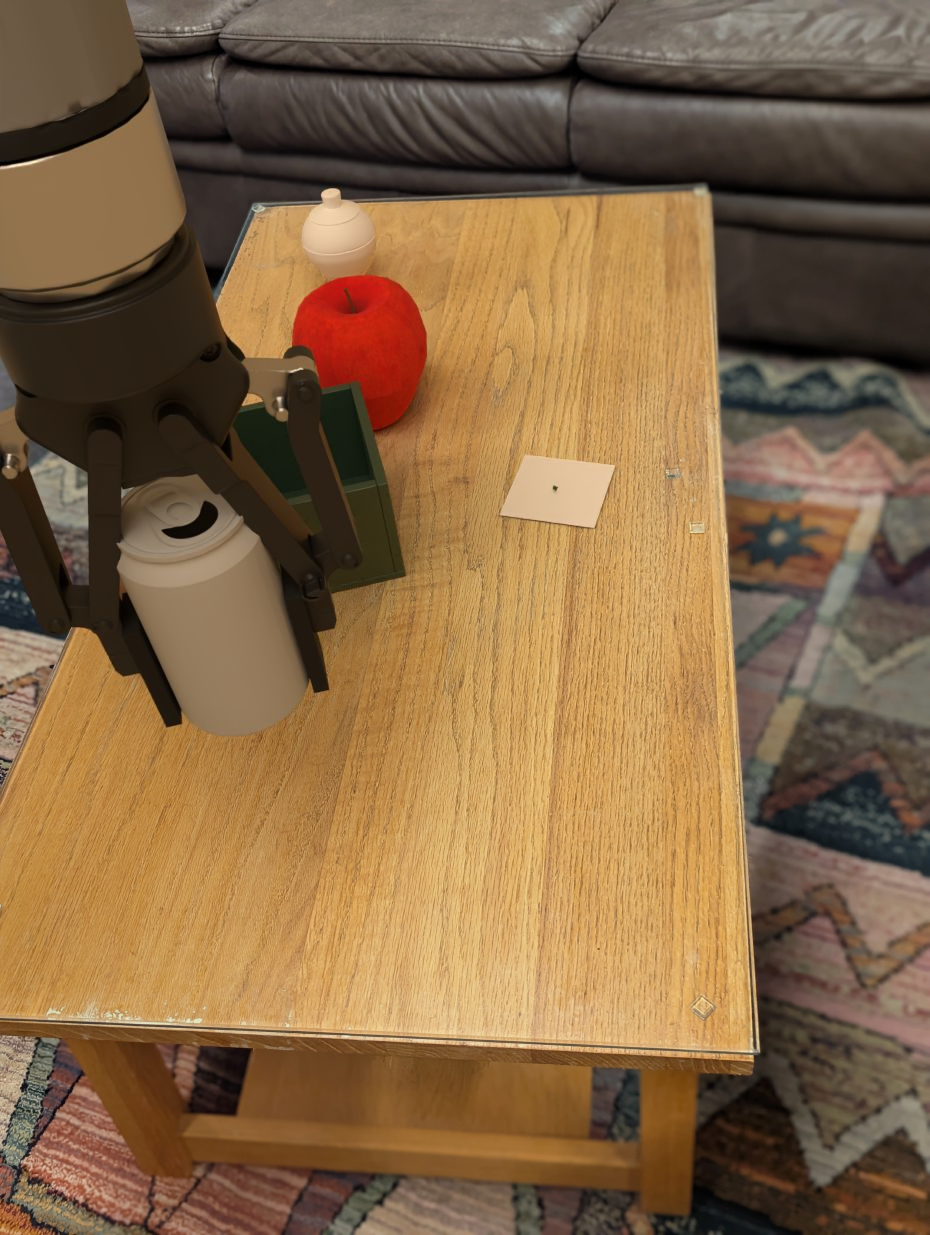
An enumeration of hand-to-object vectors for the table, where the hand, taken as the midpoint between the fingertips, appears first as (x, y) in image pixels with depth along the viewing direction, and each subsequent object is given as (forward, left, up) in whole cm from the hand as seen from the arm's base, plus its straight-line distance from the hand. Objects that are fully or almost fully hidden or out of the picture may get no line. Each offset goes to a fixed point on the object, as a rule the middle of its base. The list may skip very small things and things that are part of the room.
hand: (246, 687), depth 52 cm
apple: (+11, +48, -20) cm, 53 cm away
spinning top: (+12, +69, -20) cm, 73 cm away
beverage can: (0, 0, -1) cm, 1 cm away
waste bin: (+3, +33, -20) cm, 39 cm away
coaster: (+24, +32, -20) cm, 45 cm away
